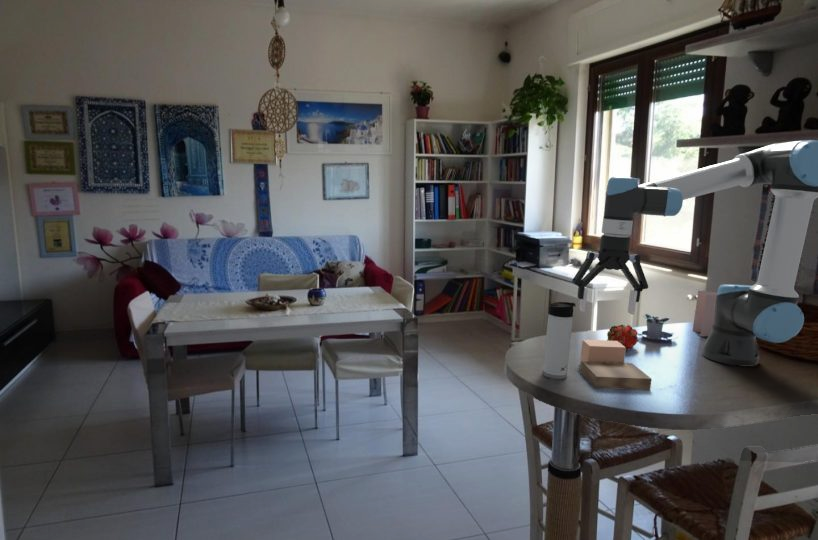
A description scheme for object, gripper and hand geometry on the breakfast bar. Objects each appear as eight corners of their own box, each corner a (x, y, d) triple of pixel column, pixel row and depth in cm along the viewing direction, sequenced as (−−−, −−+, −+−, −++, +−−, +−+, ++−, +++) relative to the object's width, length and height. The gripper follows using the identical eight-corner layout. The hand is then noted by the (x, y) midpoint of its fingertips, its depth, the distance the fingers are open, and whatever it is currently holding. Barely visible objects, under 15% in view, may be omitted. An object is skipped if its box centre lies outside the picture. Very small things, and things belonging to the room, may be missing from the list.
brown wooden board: (630, 373, 153) (631, 362, 152) (650, 390, 141) (651, 378, 141) (580, 371, 153) (581, 360, 152) (595, 387, 141) (596, 376, 140)
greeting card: (728, 335, 198) (734, 294, 195) (730, 340, 191) (737, 298, 189) (692, 330, 202) (698, 290, 200) (693, 335, 196) (699, 293, 193)
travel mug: (569, 381, 145) (576, 306, 141) (543, 378, 146) (550, 303, 143) (567, 372, 151) (574, 300, 147) (542, 370, 152) (549, 298, 149)
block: (614, 364, 159) (617, 340, 158) (622, 371, 153) (625, 347, 152) (579, 363, 159) (582, 339, 158) (587, 370, 153) (589, 346, 152)
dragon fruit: (603, 354, 174) (630, 356, 179) (624, 345, 167) (651, 347, 173) (596, 329, 177) (623, 331, 183) (616, 319, 171) (643, 322, 176)
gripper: (574, 234, 146) (565, 313, 149) (668, 239, 146) (657, 317, 150) (565, 231, 153) (557, 306, 157) (655, 236, 154) (645, 311, 157)
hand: (606, 312), depth 153 cm, fingers open, 13 cm apart
